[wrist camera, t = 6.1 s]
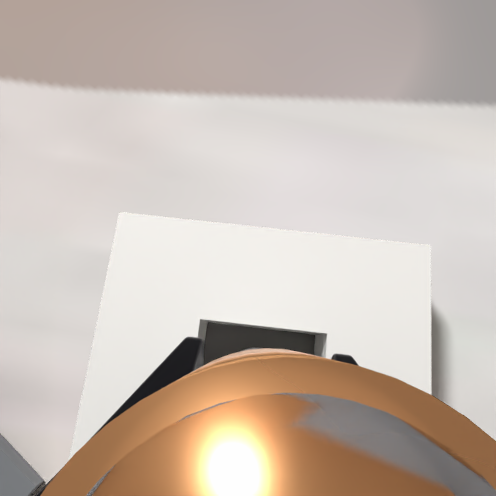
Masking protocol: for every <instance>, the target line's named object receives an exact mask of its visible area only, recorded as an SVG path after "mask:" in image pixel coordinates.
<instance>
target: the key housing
mask: <svg viewBox="0 0 496 496" xmlns="http://www.w3.org/2000/svg"><path fill="white" fill-rule="evenodd" d="M208 322H210V323H219V324H227V325H236V326H245V327H254V328H262V329H271V330H280V331H289V332H297V333H306V334H315V347H314V355H315V356H319V357H323V358H328V359H331V358H332V356H333V354H336V353H337V354H346V355H350V356H352V357H353V358H354V360H355V361H356V362H357V364H358V365H359V366H361V367H364V368H367V369H370V370H373V371H376V372H379V373H382V374H385V375H388V376H391V377H394V378H397V379H399V380H401V381H403V382H405V383H407V384H409V385H412V386H414V387H416V388H418V389H420V390H422V391H424V392H426V393H428V394H431V245H425V244H416V243H406V242H397V241H387V240H378V239H369V238H359V237H350V236H341V235H331V234H322V233H312V232H303V231H294V230H284V229H275V228H265V227H256V226H247V225H237V224H228V223H218V222H209V221H200V220H190V219H181V218H172V217H162V216H153V215H143V214H134V213H125V212H119V215H118V220H117V225H116V230H115V235H114V240H113V245H112V250H111V255H110V259H109V264H108V269H107V274H106V279H105V284H104V289H103V294H102V299H101V304H100V309H99V313H98V318H97V323H96V328H95V333H94V338H93V343H92V348H91V353H90V358H89V363H88V367H87V372H86V377H85V382H84V387H83V392H82V397H81V402H80V407H79V412H78V416H77V421H76V426H75V431H74V436H73V441H72V446H71V451H70V456H69V460H70V459H71V458H72V457H73V455H74V454H75V453H76V452H77V451H78V450H79V449H80V448H82V447H83V446H84V445H85V444H86V443H87V442H88V440H89V439H90V438H91V437H92V436H93V435H94V434H95V433H96V432H97V431H98V430H99V429H100V428H101V427H102V426H103V425H104V424H105V422H106V421H107V420H108V419H109V418H110V417H111V416H112V415H113V414H114V413H115V412H116V411H117V410H118V409H119V408H120V407H121V405H122V404H123V403H124V402H125V401H126V400H127V399H128V398H129V397H130V396H131V395H132V394H133V393H134V392H135V391H136V390H137V388H138V387H139V386H140V385H141V384H142V383H143V382H144V381H145V380H146V379H147V378H148V377H149V376H150V375H151V374H152V373H153V371H154V370H155V369H156V368H157V367H158V366H159V365H160V364H161V363H162V362H163V361H164V360H165V359H166V358H167V357H168V356H169V354H170V353H171V352H172V351H173V350H174V349H175V348H176V347H177V346H178V345H179V344H180V343H181V342H182V341H183V340H184V339H185V338H186V337H198V338H202V339H203V340H204V345H205V337H206V330H207V323H208Z"/></svg>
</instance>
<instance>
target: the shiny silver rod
mask: <svg viewBox="0 0 496 496" xmlns="http://www.w3.org/2000/svg"><path fill="white" fill-rule="evenodd" d="M41 496H496V441H495V440H494V439H493V438H491V437H490V436H489V435H488V434H486V433H485V432H484V431H483V430H482V429H480V428H479V427H478V426H477V425H475V424H474V423H473V422H472V421H470V420H469V419H468V418H467V417H465V416H464V415H462V414H461V413H459V412H457V411H456V410H454V409H453V408H451V407H450V406H448V405H446V404H445V403H443V402H442V401H440V400H439V399H437V398H435V397H434V396H432V395H431V394H428V393H426V392H424V391H422V390H420V389H418V388H416V387H414V386H412V385H409V384H407V383H405V382H403V381H401V380H399V379H397V378H394V377H391V376H388V375H385V374H382V373H379V372H376V371H373V370H370V369H367V368H364V367H361V366H357V365H353V364H349V363H344V362H340V361H336V360H332V359H328V358H323V357H319V356H315V355H311V354H307V353H302V352H297V351H292V350H286V349H271V348H258V347H253V348H247V349H244V350H241V351H239V352H237V353H232V354H229V355H226V356H224V357H221V358H218V359H216V360H213V361H211V362H209V363H208V364H206V365H204V366H202V367H200V368H198V369H196V370H195V371H193V372H191V373H189V374H187V375H186V376H184V377H182V378H180V379H178V380H177V381H175V382H173V383H171V384H169V385H168V386H166V387H164V388H162V389H160V390H158V391H157V392H155V393H153V394H151V395H149V396H148V397H146V398H144V399H142V400H140V401H139V402H138V403H136V404H135V405H133V406H132V407H131V408H129V409H128V410H126V411H125V412H123V413H122V414H121V415H119V416H118V417H116V418H115V419H114V420H112V421H111V422H109V423H108V424H107V425H106V426H105V427H103V428H102V429H101V430H100V431H99V432H98V433H97V434H96V435H95V436H94V437H92V438H91V439H90V440H89V441H88V442H87V443H86V444H85V445H84V446H83V447H82V448H80V449H79V450H78V451H77V452H76V453H75V454H74V455H73V457H72V458H71V459H70V460H69V461H68V462H67V464H66V465H65V466H64V467H63V468H62V469H61V470H60V472H59V473H58V474H57V475H56V476H55V477H54V479H53V480H52V481H51V482H50V483H49V484H48V485H47V487H46V488H45V490H44V491H43V493H42V494H41Z"/></svg>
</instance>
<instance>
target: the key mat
mask: <svg viewBox="0 0 496 496" xmlns="http://www.w3.org/2000/svg"><path fill="white" fill-rule="evenodd" d="M43 481H44V480H43V479H42V478H41V477H40V476H39V475H38V474H37V472H36V471H35V470H34V469H33V468H32V467H31V466H30V465H29V464H28V463H27V462H26V461H25V460H24V459H23V457H22V456H21V455H20V454H19V453H18V452H17V451H16V450H15V449H14V448H13V447H12V446H11V445H10V444H9V442H8V441H7V440H6V439H5V438H4V437H3V436H2V435H1V434H0V496H31V495H32V494H33V493H34V491H35V490H36V489H37V488H38V487H39V486H40V485H41V483H42V482H43Z"/></svg>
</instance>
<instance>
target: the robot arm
mask: <svg viewBox="0 0 496 496" xmlns="http://www.w3.org/2000/svg"><path fill="white" fill-rule="evenodd" d="M331 359H332V360H336V361H340V362H344V363H349V364H353V365H357V366H359V365H358V364H357V362H356V361H355V360H354V358H353V357H352V356H350V355H346V354H337V353H336V354H333V356H332V358H331ZM203 365H204V340H203V339H202V338H198V337H186V338H185V339H184V340H183V341H182V342H181V343H180V344H179V345H178V346H177V347H176V348H175V349H174V350H173V351H172V352H171V353H170V354H169V356H168V357H167V358H166V359H165V360H164V361H163V362H162V363H161V364H160V365H159V366H158V367H157V368H156V369H155V370H154V371H153V373H152V374H151V375H150V376H149V377H148V378H147V379H146V380H145V381H144V382H143V383H142V384H141V385H140V386H139V387H138V388H137V390H136V391H135V392H134V393H133V394H132V395H131V396H130V397H129V398H128V399H127V400H126V401H125V402H124V403H123V404H122V405H121V407H120V408H119V409H118V410H117V411H116V412H115V413H114V414H113V415H112V416H111V417H110V418H109V419H108V420H107V421H106V422H105V424H104V425H103V426H102V427H101V428H100V429H99V430H98V431H97V432H96V433H95V434H94V435H93V436H92V437H94V436H95V435H96V434H97V433H98V432H99V431H100V430H101V429H102V428H103V427H105V426H106V425H107V424H108V423H109V422H111V421H112V420H114V419H115V418H116V417H118V416H119V415H121V414H122V413H123V412H125V411H126V410H128V409H129V408H131V407H132V406H133V405H135V404H136V403H138V402H139V401H140V400H142V399H144V398H146V397H148V396H149V395H151V394H153V393H155V392H157V391H158V390H160V389H162V388H164V387H166V386H168V385H169V384H171V383H173V382H175V381H177V380H178V379H180V378H182V377H184V376H186V375H187V374H189V373H191V372H193V371H195V370H196V369H198V368H200V367H202V366H203ZM92 437H91V438H92ZM91 438H90V439H91ZM90 439H89V440H90ZM89 440H88V441H89ZM59 472H60V471H59ZM59 472H58V473H59ZM58 473H57V474H58ZM57 474H56V475H57ZM56 475H55V476H56ZM55 476H54V477H55ZM54 477H53V478H52V479H51V480H50V481H49V482H48V483H47V484H46V485H45V486H44V487H43V488H42V489H41V490H40V491H39V492H38V493H37V494H36V495H35V496H41V494H42V493H43V491H44V490H45V488H46V487H47V485H48V484H49V483H50V482H51V481H52V480H53V479H54Z"/></svg>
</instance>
